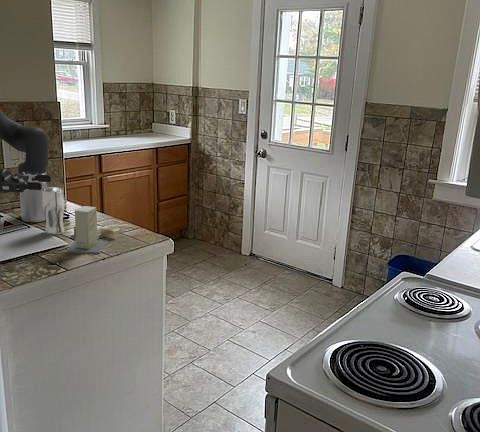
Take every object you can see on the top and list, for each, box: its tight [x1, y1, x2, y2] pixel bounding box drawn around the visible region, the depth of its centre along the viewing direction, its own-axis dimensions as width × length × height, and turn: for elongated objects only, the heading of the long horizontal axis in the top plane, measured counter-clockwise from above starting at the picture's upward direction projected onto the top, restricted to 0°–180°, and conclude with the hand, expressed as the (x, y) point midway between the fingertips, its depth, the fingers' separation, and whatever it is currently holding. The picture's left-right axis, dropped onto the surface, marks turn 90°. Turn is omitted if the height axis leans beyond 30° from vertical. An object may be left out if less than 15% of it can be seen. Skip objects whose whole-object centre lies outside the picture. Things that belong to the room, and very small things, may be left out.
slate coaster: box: [66, 238, 107, 255], centre depth 153 cm, size 10×10×1 cm
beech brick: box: [99, 225, 121, 240], centre depth 163 cm, size 6×3×3 cm, turn 66°
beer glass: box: [42, 186, 66, 236], centre depth 162 cm, size 7×7×15 cm
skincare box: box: [74, 205, 98, 249], centre depth 151 cm, size 6×4×12 cm
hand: (46, 182), depth 146 cm, fingers open, 8 cm apart
